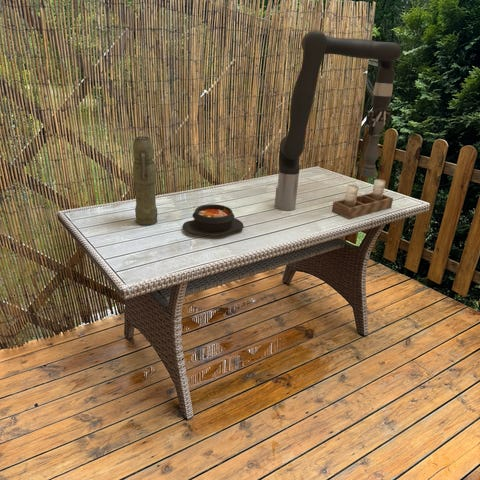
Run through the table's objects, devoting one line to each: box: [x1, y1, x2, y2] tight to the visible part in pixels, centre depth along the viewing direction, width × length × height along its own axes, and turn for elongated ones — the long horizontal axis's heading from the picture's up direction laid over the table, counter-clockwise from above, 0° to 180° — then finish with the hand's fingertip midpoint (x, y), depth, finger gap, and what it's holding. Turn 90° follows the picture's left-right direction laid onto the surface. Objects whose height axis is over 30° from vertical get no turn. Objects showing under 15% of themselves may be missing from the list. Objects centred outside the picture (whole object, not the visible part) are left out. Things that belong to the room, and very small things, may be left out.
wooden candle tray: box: [331, 178, 394, 220], centre depth 199 cm, size 30×10×13 cm, turn 124°
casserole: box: [182, 203, 244, 236], centre depth 172 cm, size 25×19×8 cm
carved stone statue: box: [132, 136, 158, 227], centre depth 170 cm, size 9×12×35 cm
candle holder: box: [360, 120, 385, 179], centre depth 189 cm, size 6×6×25 cm
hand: (375, 134), depth 186 cm, fingers closed on candle holder, 5 cm apart
